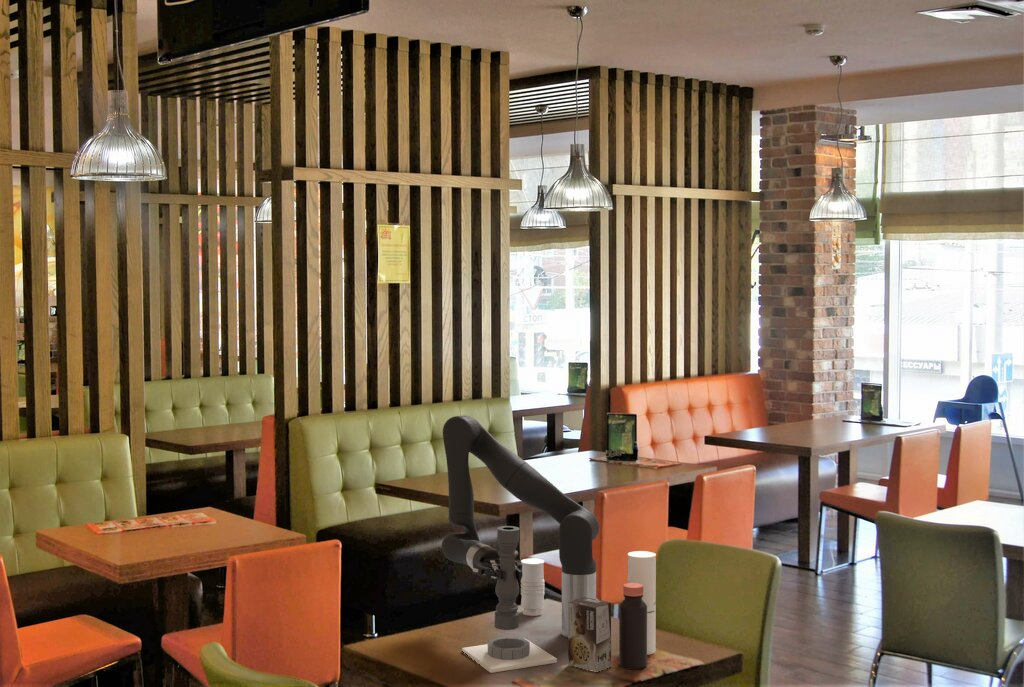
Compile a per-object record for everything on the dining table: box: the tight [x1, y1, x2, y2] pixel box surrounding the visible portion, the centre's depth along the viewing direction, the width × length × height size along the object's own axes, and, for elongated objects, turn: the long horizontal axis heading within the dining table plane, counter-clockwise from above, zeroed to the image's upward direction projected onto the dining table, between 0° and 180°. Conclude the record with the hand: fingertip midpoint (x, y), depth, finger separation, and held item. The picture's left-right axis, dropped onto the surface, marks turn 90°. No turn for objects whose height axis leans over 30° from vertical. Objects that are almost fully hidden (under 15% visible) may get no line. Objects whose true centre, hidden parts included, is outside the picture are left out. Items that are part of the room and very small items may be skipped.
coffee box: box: [567, 597, 612, 672], centre depth 279 cm, size 9×6×16 cm
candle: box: [520, 557, 546, 617], centre depth 325 cm, size 7×7×15 cm
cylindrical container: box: [627, 550, 657, 656], centre depth 291 cm, size 7×7×25 cm
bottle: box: [618, 582, 648, 670], centre depth 279 cm, size 7×7×20 cm
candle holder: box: [493, 525, 521, 631], centre depth 285 cm, size 6×6×25 cm
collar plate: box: [461, 636, 558, 674], centre depth 286 cm, size 18×18×4 cm
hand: (512, 576), depth 283 cm, fingers closed on candle holder, 3 cm apart
